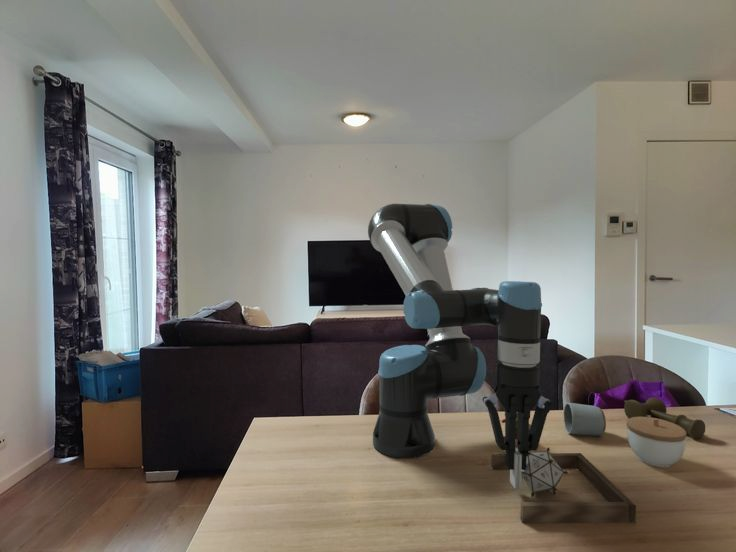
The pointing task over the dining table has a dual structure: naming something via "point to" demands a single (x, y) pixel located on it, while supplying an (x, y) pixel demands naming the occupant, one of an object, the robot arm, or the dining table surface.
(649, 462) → the lidded jar
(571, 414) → the ceramic mug
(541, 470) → the game die
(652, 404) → the kendama
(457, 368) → the robot arm
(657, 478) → the dining table surface
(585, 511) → the walnut bay
